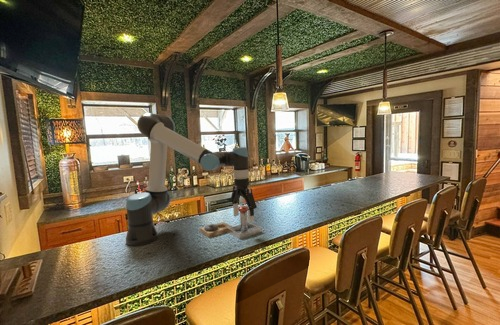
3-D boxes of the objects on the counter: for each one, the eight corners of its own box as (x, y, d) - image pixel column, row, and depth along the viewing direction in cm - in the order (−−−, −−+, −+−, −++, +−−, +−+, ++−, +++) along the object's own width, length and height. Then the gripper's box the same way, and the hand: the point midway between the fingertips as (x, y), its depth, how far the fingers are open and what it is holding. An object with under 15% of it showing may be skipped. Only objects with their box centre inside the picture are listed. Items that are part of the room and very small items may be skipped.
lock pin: (243, 235, 125) (241, 209, 124) (237, 232, 129) (236, 207, 128) (251, 233, 128) (250, 207, 127) (245, 230, 132) (244, 205, 131)
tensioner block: (208, 239, 124) (208, 229, 124) (200, 233, 132) (199, 224, 132) (232, 232, 132) (232, 222, 132) (223, 227, 140) (222, 218, 140)
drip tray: (239, 240, 120) (239, 234, 120) (227, 234, 129) (227, 228, 129) (261, 233, 128) (260, 227, 128) (248, 228, 137) (248, 222, 137)
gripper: (262, 179, 118) (264, 223, 120) (234, 174, 138) (236, 212, 140) (250, 181, 114) (251, 226, 116) (222, 176, 134) (224, 214, 136)
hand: (243, 218), depth 128 cm, fingers open, 13 cm apart
